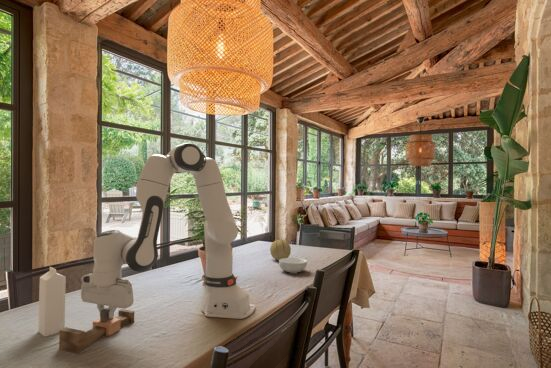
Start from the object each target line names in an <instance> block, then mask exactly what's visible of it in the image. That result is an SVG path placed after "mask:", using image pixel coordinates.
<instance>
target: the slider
mask: <svg viewBox="0 0 551 368" xmlns="http://www.w3.org/2000/svg"><path fill="white" fill-rule="evenodd" d="M109 311H110V309H109V306H107V307H106V308H105V309H103V310H101V311H100V312H99V318H98V319H95V320H93V321H92V329H93V328H95V327H97V326H99V327H105V328H106V336H111V335H113V334H115V333H116V332H118V331H121V328H120V323H121V319H117V318H115V317H113V318H111V319H110V318H107V313H109Z"/></svg>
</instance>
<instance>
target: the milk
mask: <svg viewBox="0 0 551 368" xmlns="http://www.w3.org/2000/svg"><path fill="white" fill-rule="evenodd" d="M66 278H67V277H66V276H65V275H62V274H61V273H58V272H57V268H54V267H52V266H49V271H47V272H45V273H44V274H43V275H41V276H40V277H39V292H38V294H39V296H38V331H37V332H38V333H40V335H42V336H43V337H48V336H52V335H55V334H59V332H60V330H61V329H63V328H65V327H66V324H65V322H66V321H65V319H66V315H65V314H66V286H67V285H66V281H67V279H66Z"/></svg>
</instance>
